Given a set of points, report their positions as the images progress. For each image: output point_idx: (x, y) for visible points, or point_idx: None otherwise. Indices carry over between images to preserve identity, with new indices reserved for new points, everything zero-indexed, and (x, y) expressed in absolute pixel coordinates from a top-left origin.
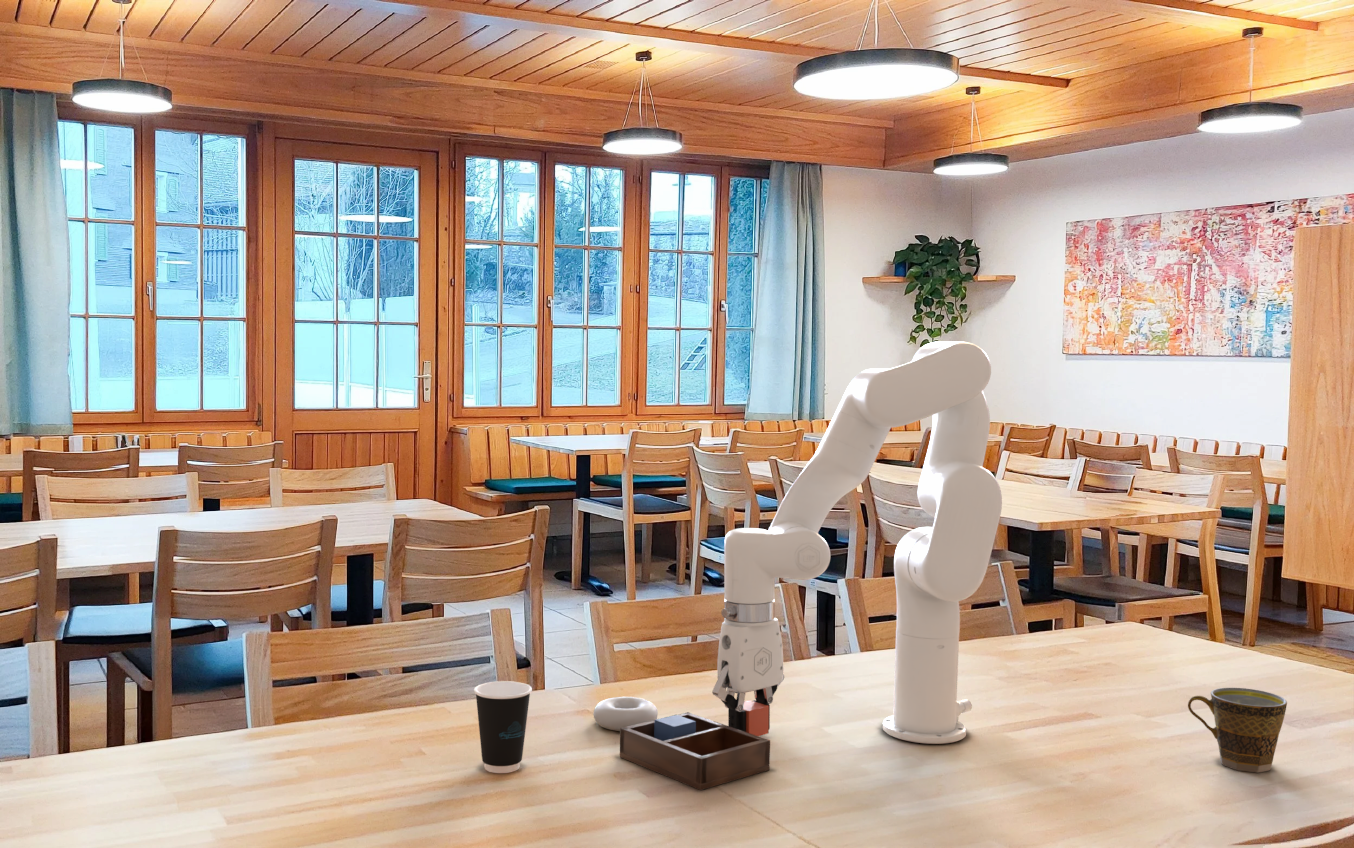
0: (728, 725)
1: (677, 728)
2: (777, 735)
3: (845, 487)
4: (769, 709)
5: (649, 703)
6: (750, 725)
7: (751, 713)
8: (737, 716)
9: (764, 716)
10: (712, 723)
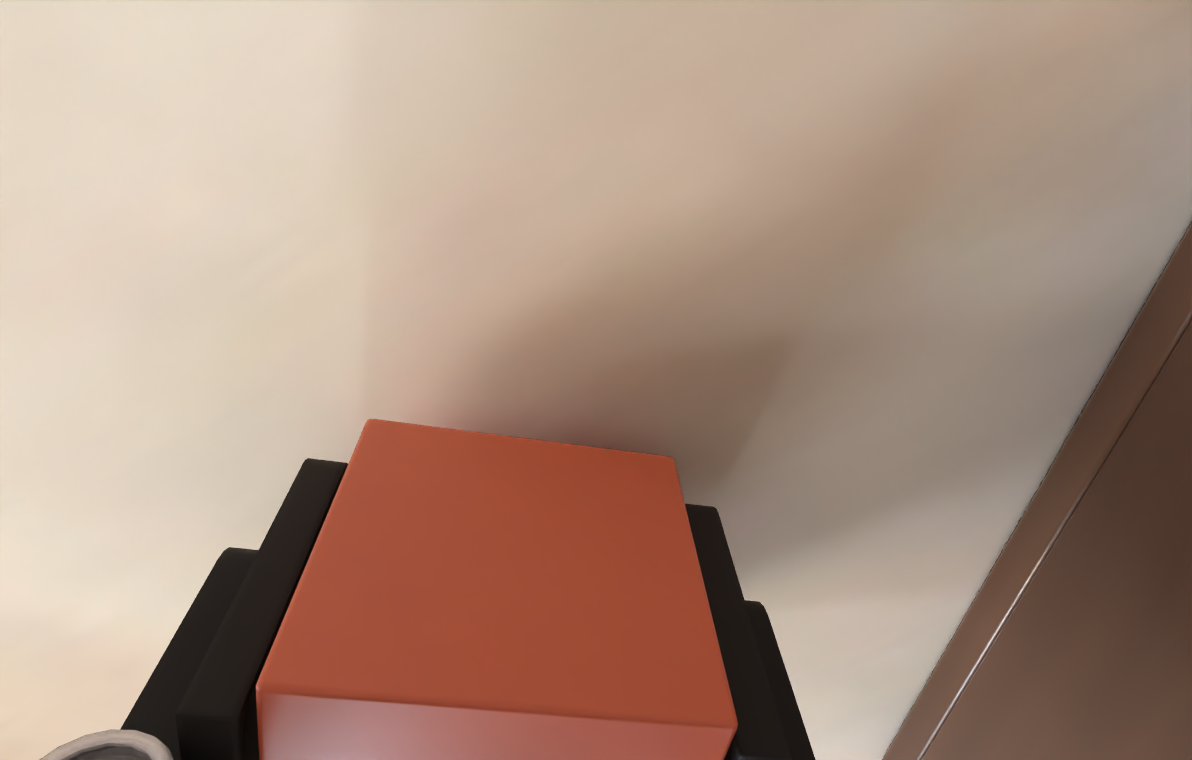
0: None
1: None
2: (223, 379)
3: None
4: (212, 643)
5: None
6: (671, 551)
7: (679, 678)
8: (789, 737)
9: (400, 572)
10: None
